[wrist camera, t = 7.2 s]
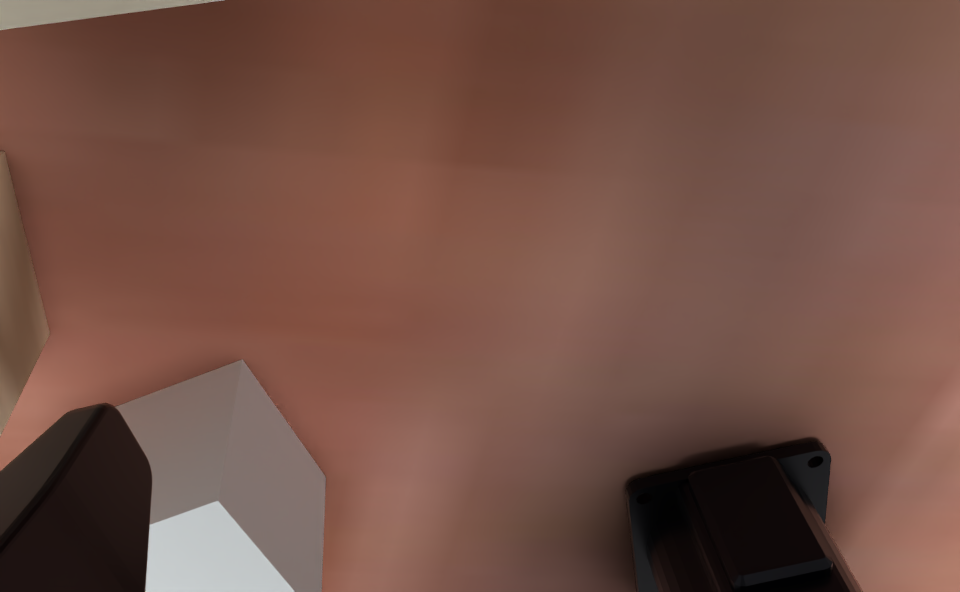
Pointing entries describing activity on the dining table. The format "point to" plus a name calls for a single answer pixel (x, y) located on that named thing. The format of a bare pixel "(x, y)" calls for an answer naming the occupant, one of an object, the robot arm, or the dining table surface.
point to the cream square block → (75, 10)
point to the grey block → (228, 489)
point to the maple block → (16, 302)
